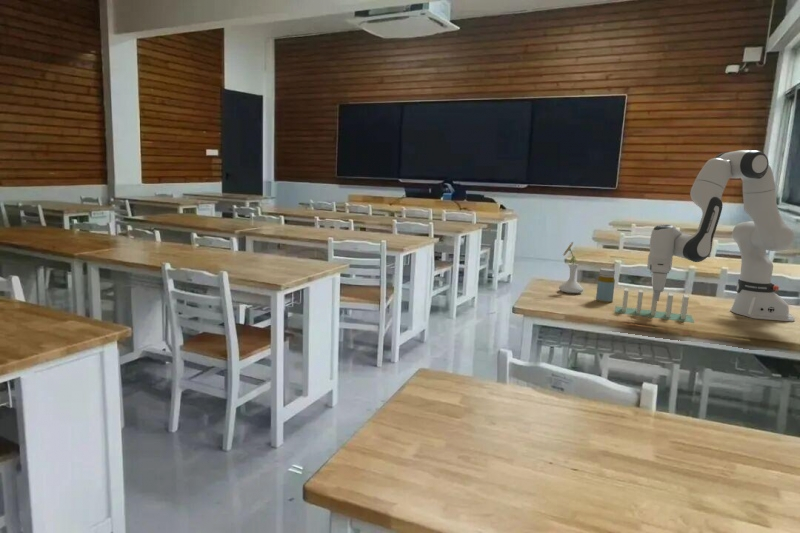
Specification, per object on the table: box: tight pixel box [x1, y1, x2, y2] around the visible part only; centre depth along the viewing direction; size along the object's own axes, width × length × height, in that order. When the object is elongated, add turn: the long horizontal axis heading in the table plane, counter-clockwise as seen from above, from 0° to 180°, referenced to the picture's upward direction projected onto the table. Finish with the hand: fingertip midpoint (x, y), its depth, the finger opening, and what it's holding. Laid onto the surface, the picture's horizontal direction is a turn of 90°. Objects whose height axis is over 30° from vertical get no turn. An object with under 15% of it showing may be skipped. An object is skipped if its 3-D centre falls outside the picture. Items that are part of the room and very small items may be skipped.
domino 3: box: [665, 292, 674, 317], centre depth 214 cm, size 2×5×9 cm, turn 157°
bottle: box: [595, 267, 616, 304], centre depth 236 cm, size 7×7×15 cm
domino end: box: [621, 287, 630, 312], centre depth 221 cm, size 2×5×9 cm, turn 157°
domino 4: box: [679, 294, 690, 319], centre depth 212 cm, size 2×5×9 cm, turn 157°
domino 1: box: [635, 289, 644, 314], centre depth 219 cm, size 2×5×9 cm, turn 157°
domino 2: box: [650, 290, 658, 316], centre depth 217 cm, size 2×5×9 cm, turn 157°
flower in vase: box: [558, 241, 584, 294], centre depth 253 cm, size 13×11×25 cm
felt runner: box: [614, 305, 695, 324], centre depth 217 cm, size 29×12×1 cm, turn 66°
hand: (655, 298), depth 216 cm, fingers open, 8 cm apart
